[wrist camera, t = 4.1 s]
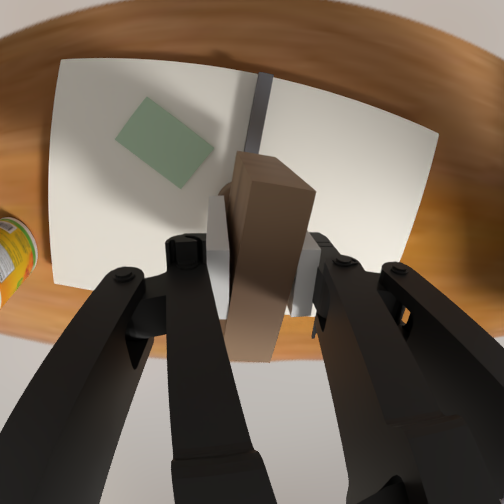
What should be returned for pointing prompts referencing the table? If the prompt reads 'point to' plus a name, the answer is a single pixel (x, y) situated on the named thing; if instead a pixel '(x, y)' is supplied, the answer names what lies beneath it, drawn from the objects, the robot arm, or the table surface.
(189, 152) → the dial board
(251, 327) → the brown handled block
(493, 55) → the table surface
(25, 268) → the supplement bottle
